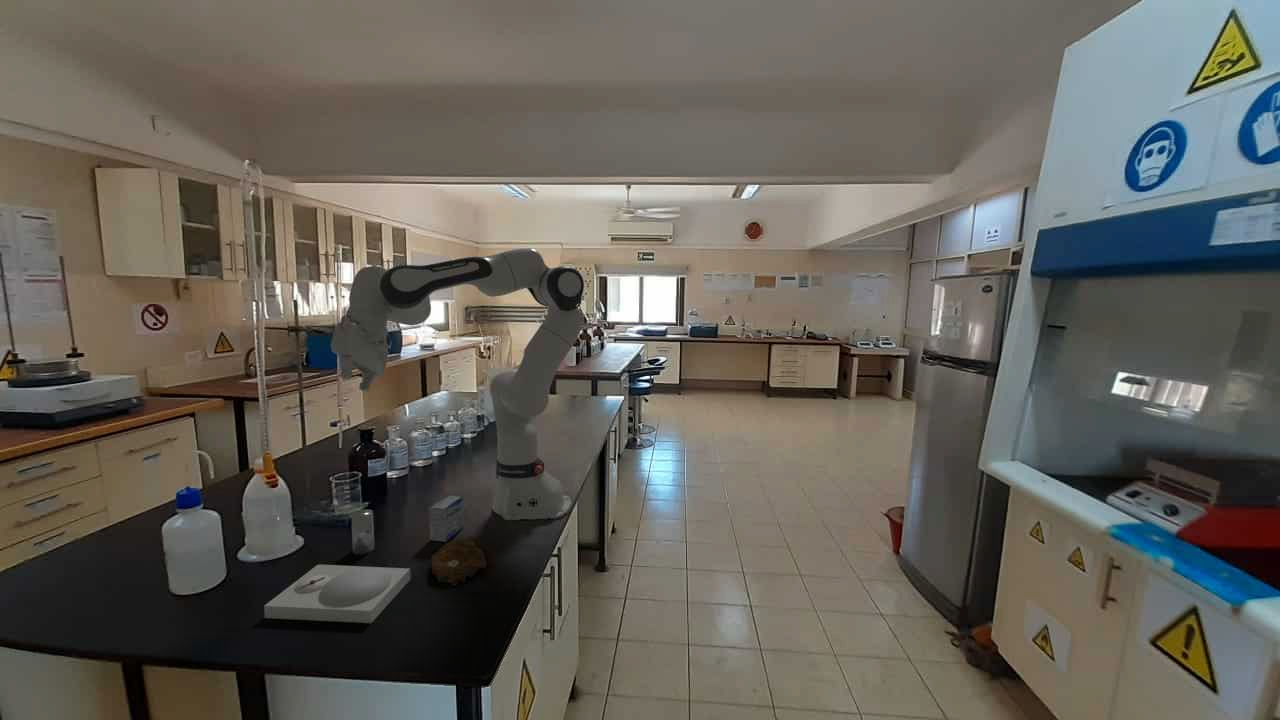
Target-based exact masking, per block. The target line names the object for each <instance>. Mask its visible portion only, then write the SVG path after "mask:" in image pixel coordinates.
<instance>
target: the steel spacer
mask: <svg viewBox="0 0 1280 720" xmlns="http://www.w3.org/2000/svg"><path fill="white" fill-rule="evenodd" d="M350 515H351V535H352V536H351V537H352V540H351V541H352V553H353V555H365V554H367V553H370V552H372V551H374V549H375V530H374V529H375V528H374V527H375V525H374V510H372V509H370V508H369V509H368V508H367V509H365V508H364V509H359V510H356V511H354V512H352V514H350Z"/></svg>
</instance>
